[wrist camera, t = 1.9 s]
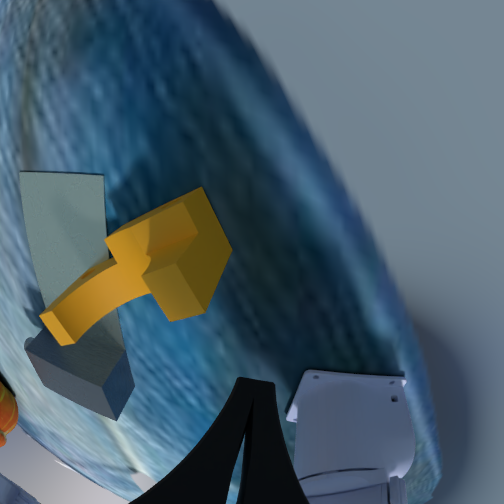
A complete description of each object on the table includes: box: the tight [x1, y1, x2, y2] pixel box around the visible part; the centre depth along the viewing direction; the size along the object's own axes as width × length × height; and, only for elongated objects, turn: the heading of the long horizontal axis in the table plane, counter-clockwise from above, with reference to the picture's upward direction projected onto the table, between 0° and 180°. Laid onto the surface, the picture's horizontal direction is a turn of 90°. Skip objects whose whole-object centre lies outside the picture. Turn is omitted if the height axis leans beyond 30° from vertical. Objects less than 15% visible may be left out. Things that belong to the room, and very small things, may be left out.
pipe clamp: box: [39, 187, 232, 346], centre depth 16 cm, size 12×4×6 cm, turn 113°
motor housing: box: [19, 172, 135, 421], centre depth 20 cm, size 13×22×5 cm, turn 173°
